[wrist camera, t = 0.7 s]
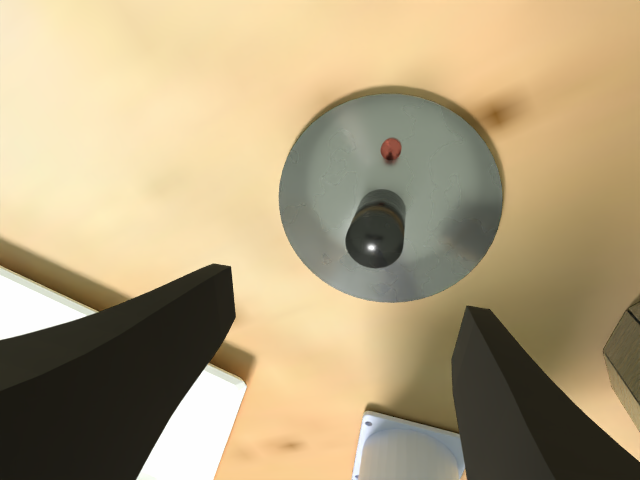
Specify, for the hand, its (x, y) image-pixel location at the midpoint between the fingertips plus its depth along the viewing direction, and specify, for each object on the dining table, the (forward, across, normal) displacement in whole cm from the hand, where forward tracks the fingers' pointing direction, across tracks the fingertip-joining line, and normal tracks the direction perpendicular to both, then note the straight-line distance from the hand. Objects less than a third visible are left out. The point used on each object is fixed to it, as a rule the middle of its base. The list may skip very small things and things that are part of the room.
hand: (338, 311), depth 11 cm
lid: (+10, -1, 0) cm, 10 cm away
